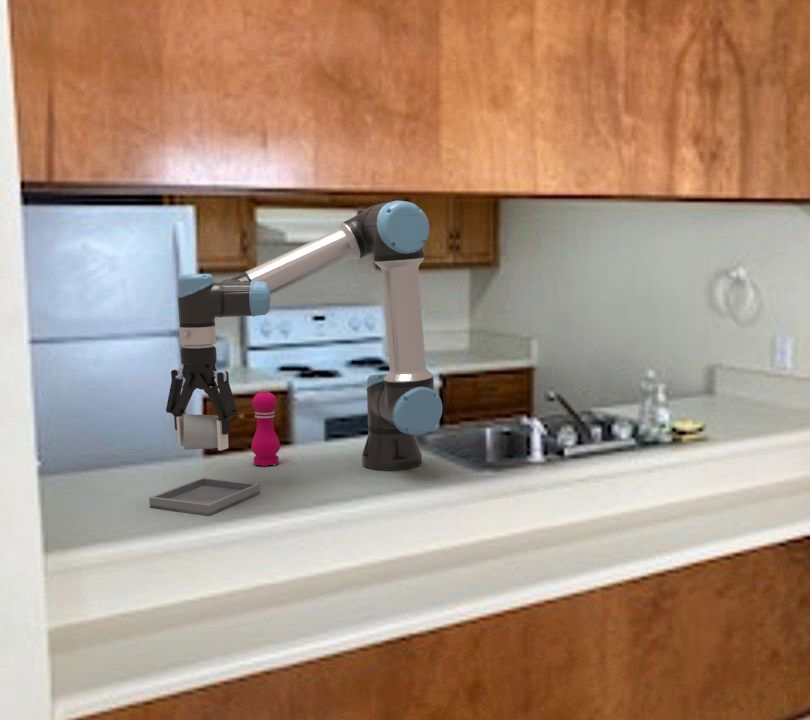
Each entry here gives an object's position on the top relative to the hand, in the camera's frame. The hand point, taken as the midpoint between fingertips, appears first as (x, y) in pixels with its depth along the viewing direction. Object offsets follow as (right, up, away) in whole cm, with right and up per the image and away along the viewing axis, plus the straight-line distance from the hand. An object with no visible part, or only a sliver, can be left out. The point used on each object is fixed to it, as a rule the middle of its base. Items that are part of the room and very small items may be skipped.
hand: (203, 447), depth 200 cm
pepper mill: (+9, -8, +34) cm, 36 cm away
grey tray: (0, -12, +2) cm, 12 cm away
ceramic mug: (0, 0, +1) cm, 1 cm away
